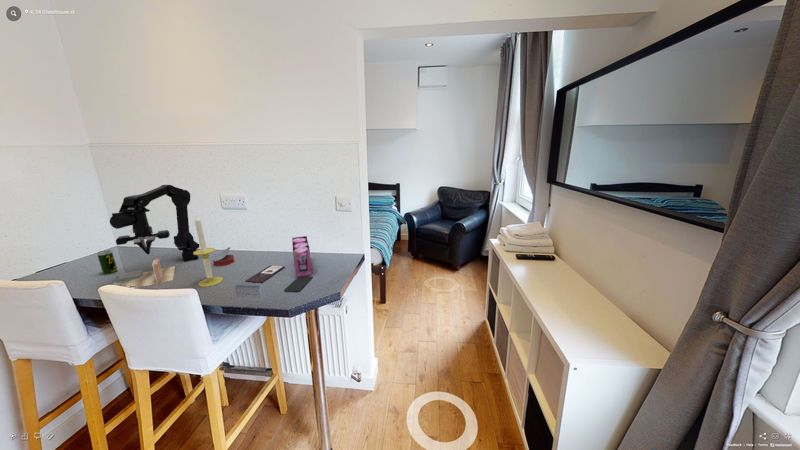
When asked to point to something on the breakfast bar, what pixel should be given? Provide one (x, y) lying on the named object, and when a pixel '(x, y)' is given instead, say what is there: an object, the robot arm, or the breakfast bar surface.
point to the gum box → (301, 256)
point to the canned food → (223, 258)
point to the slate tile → (128, 276)
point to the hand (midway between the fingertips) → (148, 254)
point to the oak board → (149, 278)
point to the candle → (205, 258)
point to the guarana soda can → (107, 262)
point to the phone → (298, 284)
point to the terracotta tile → (157, 270)
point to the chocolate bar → (265, 274)
